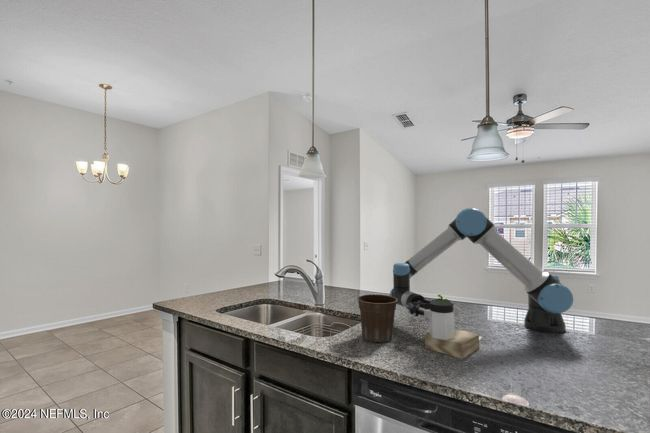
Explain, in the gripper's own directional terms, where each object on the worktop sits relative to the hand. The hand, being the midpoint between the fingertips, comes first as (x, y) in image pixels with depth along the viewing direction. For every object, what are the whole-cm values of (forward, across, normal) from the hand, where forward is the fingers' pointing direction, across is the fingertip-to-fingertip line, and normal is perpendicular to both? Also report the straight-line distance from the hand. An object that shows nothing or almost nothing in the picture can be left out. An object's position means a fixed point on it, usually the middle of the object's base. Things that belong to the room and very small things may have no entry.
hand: (445, 313), depth 125 cm
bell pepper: (-35, -26, -12) cm, 45 cm away
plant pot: (-16, +20, -12) cm, 29 cm away
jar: (+3, +4, -7) cm, 9 cm away
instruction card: (-5, -12, -12) cm, 18 cm away
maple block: (+3, 0, -12) cm, 12 cm away
